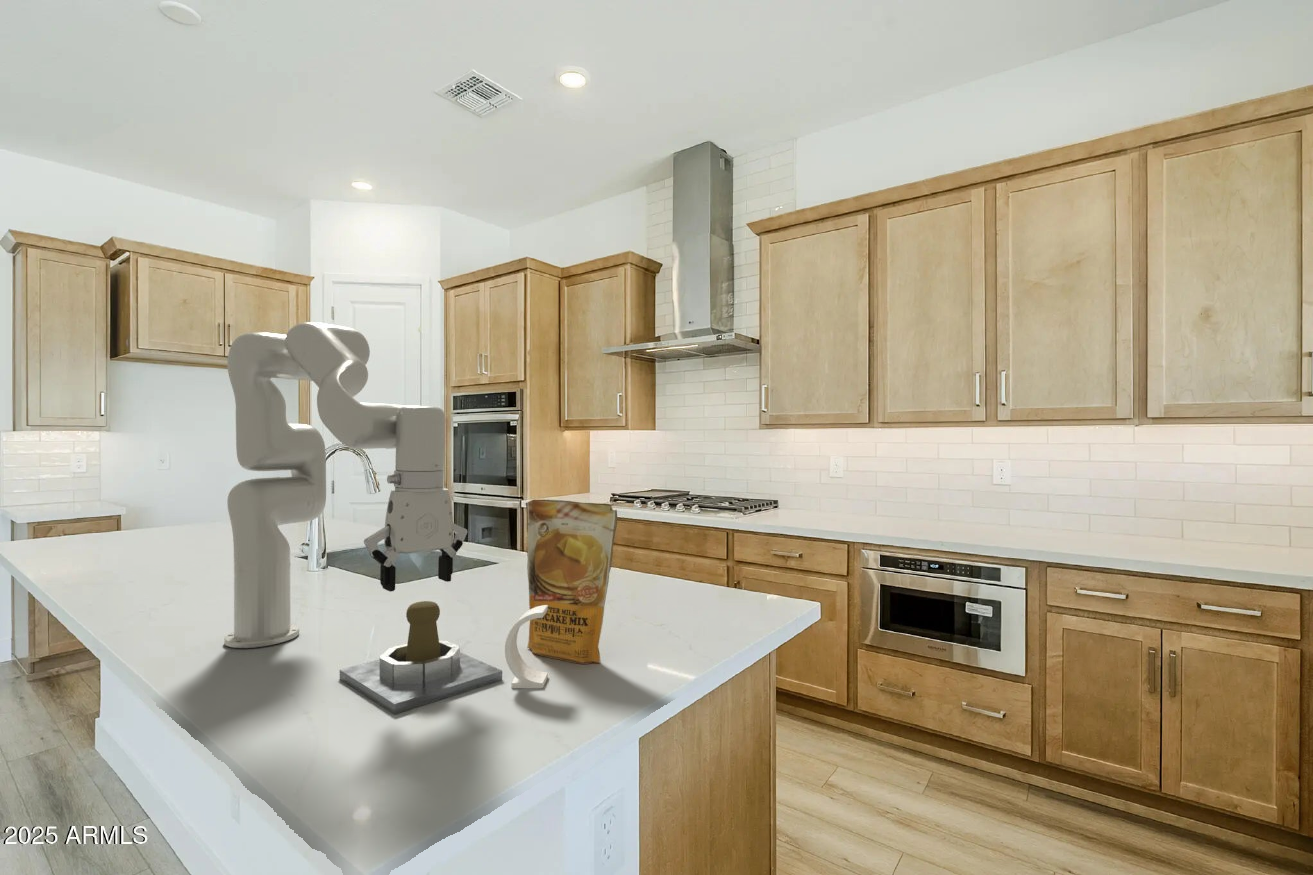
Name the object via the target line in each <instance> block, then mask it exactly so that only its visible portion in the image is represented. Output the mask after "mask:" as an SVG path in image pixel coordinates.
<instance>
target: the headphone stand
mask: <svg viewBox="0 0 1313 875" xmlns="http://www.w3.org/2000/svg"><path fill="white" fill-rule="evenodd" d="M547 611H548V605H542V606H538V607H535V608H532V609H530V608H529V609H528V610H527V611H526V612H525V613H523V614H522V615H521V616H520V618H519V619H517V621H516V623H514V625H513V626H512V628H511V629H510V631H509V633H508V634H507V636H506V639H505V642H504V643H505V645H504V655H505V661H506V664H507V666H508V668H509V670H510V671H511V673H512V674H513V675H514V678H513V680H512V681H511V689H544V686H545V684H546V683H547V681H548V679H549V678H548V677H549V672H546V671H540V670H537V669H535V668H533V667H531V666H530V665H528V664H527V663H526V662H525V661H524V659H523V658H522V656H521V654H520V652H519V647H518V643H517V642H518V634H519V631H520V628H521V626H524V624H526V623H527V622H530V620H532V619H536V618H543V616H544V615H545V613H546V612H547Z"/></svg>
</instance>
